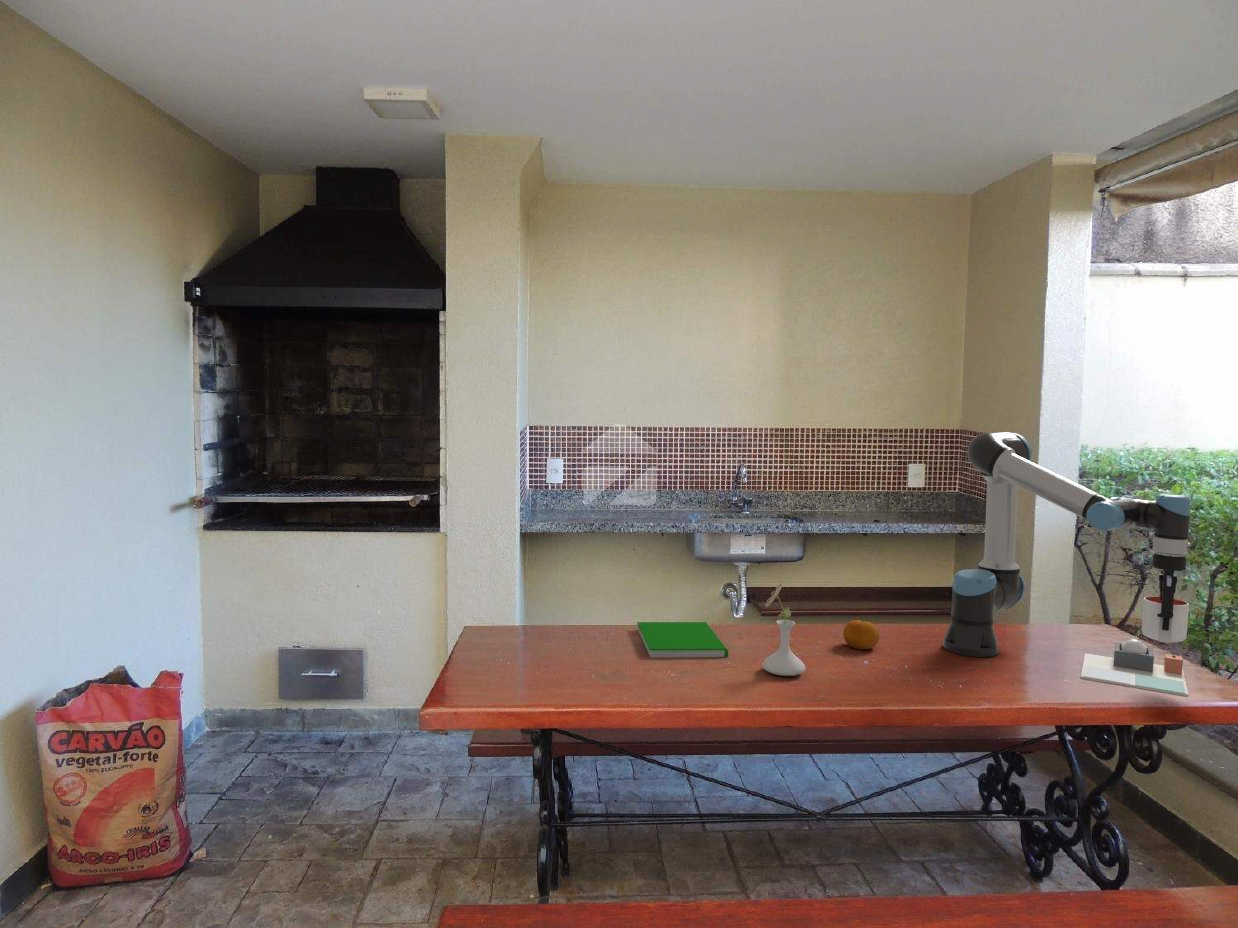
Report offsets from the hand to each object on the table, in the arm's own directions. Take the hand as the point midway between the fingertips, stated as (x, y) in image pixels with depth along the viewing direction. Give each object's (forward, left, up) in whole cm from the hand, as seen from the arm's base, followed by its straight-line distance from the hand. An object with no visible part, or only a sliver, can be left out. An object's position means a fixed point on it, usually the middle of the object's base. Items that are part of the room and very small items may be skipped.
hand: (1163, 637), depth 222 cm
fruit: (-76, -12, -13) cm, 78 cm away
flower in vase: (-87, -49, -13) cm, 101 cm away
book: (-122, -40, -14) cm, 129 cm away
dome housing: (-6, +15, -13) cm, 20 cm away
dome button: (-6, +15, -12) cm, 20 cm away
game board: (-6, +7, -13) cm, 16 cm away
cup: (0, 0, 0) cm, 0 cm away
